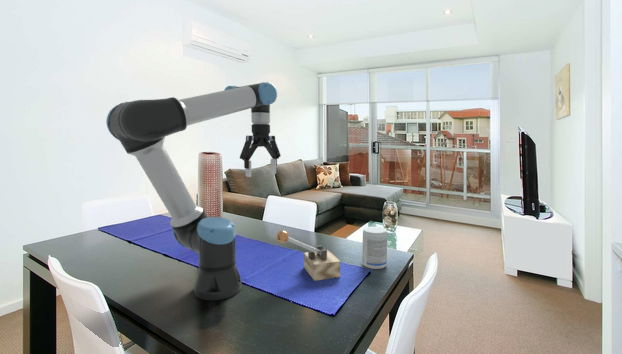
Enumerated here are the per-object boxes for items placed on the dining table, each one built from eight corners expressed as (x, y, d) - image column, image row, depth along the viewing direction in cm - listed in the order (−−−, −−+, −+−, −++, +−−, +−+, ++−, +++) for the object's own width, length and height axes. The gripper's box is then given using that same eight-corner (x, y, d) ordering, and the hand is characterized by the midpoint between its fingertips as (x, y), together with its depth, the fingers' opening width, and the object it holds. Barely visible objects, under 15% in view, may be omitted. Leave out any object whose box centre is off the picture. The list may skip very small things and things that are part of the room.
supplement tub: (391, 266, 123) (393, 230, 121) (374, 272, 117) (375, 234, 116) (373, 258, 131) (375, 224, 129) (357, 263, 125) (358, 228, 124)
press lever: (323, 261, 114) (275, 242, 107) (319, 257, 119) (273, 238, 111) (328, 250, 115) (281, 230, 108) (324, 246, 119) (278, 227, 112)
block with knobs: (314, 280, 110) (314, 255, 109) (304, 267, 121) (304, 244, 120) (340, 276, 113) (340, 251, 112) (327, 264, 124) (328, 241, 123)
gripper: (276, 125, 139) (276, 172, 141) (229, 122, 120) (231, 177, 122) (288, 124, 134) (288, 173, 137) (241, 122, 115) (243, 178, 118)
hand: (261, 175), depth 129 cm, fingers open, 13 cm apart
